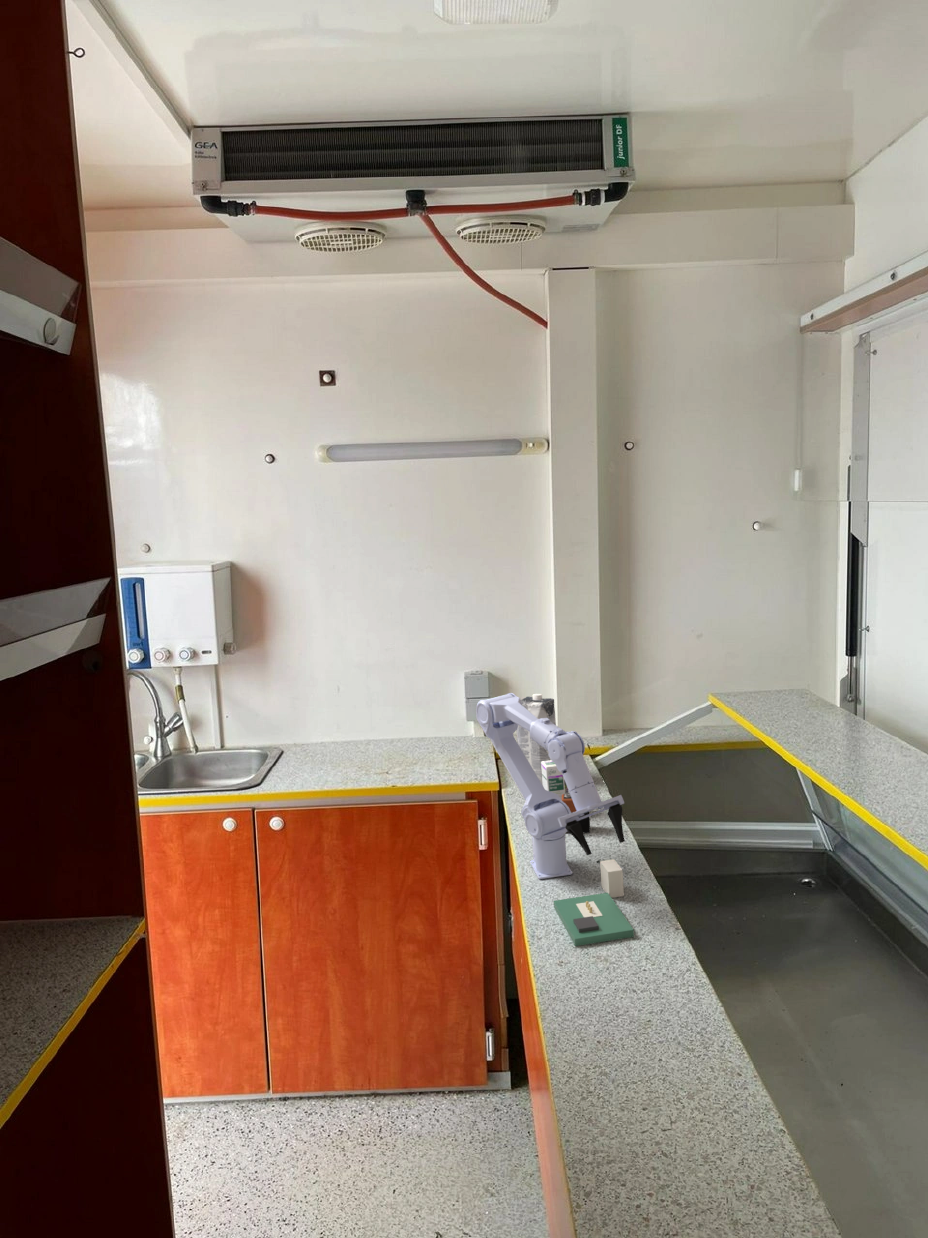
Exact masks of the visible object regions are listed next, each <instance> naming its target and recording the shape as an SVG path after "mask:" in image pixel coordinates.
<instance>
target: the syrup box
mask: <svg viewBox="0 0 928 1238" xmlns="http://www.w3.org/2000/svg"><path fill="white" fill-rule="evenodd" d="M541 769H542V782H543V787H544V789H545V790H547V791H550V792H553V793H555V794H558V796H559V797H560V799H561V800H562V794H565V793H569V790H568V788H567V785H566V782H565V780H564V777H563V775H562V772H560V771H559V770H558V769H557V766H556V765H555V763H554V762H553V761H552V760H549V761H542V762H541Z"/></svg>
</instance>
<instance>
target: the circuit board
mask: <svg viewBox="0 0 928 1238" xmlns="http://www.w3.org/2000/svg"><path fill="white" fill-rule="evenodd" d="M553 908H554V910H555V912H556V914H557V916H558V919H560V921H561V923H562V925H563V926H564V928H565V931H566V932H567V934H568V936H569V938H570V940H571V942H572V944H573V945H574V946H575V947H578V946H584V945H591V944H598V943H605V942H609V941H615V940H621V939H627V938H628V939H629V938H634V937H635V931H634V928H633V926H632V925H631V923H629V921H628V919H627V918H626V917H625V914H623V912H622V911H621V909H620V908H619V906H618V904H616V902H615V901H614V899H613V898H611V896H610V895H609V894H608V893H606V892H602V893H595V894H589V895H583V896H576V897H570V898H563V899H556V900H553Z"/></svg>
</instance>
